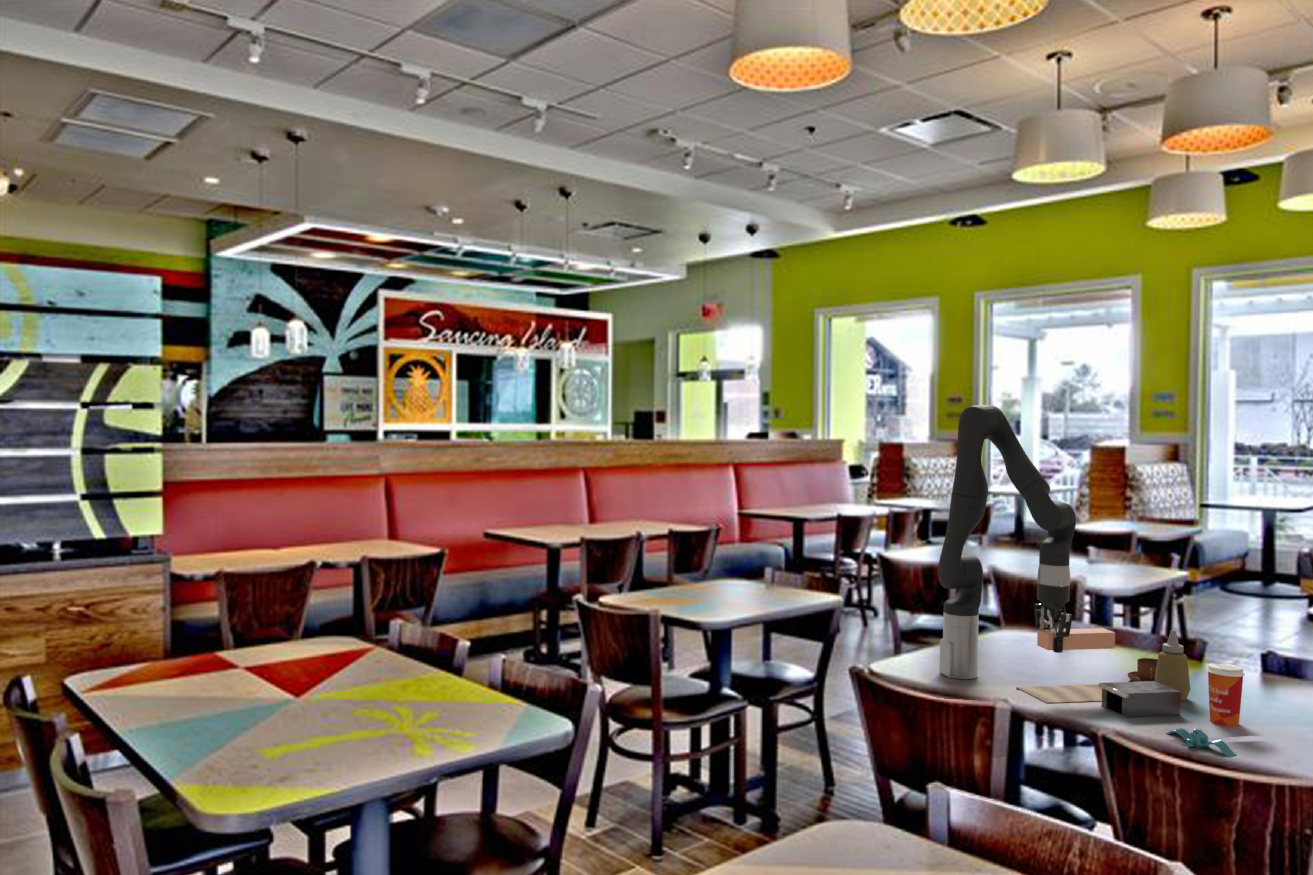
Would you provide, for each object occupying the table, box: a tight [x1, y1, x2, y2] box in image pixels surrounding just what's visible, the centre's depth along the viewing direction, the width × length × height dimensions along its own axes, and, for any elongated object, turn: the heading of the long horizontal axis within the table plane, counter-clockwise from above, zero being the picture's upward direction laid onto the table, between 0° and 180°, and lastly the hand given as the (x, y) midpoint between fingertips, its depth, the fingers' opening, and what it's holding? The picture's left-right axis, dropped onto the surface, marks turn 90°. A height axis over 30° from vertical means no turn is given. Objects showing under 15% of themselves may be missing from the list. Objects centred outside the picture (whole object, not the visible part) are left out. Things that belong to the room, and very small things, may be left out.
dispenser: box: [1097, 681, 1182, 719], centre depth 230 cm, size 15×10×7 cm
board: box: [1015, 683, 1102, 704], centre depth 244 cm, size 26×14×1 cm, turn 100°
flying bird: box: [1164, 728, 1238, 758], centre depth 207 cm, size 15×7×4 cm, turn 31°
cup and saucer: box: [1127, 657, 1158, 682], centre depth 259 cm, size 12×12×6 cm
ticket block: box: [1036, 627, 1116, 651], centre depth 241 cm, size 18×5×4 cm, turn 98°
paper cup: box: [1205, 662, 1246, 727], centre depth 221 cm, size 8×8×14 cm
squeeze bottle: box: [1155, 629, 1191, 702], centre depth 241 cm, size 8×8×18 cm
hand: (1051, 649), depth 240 cm, fingers closed on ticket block, 5 cm apart
